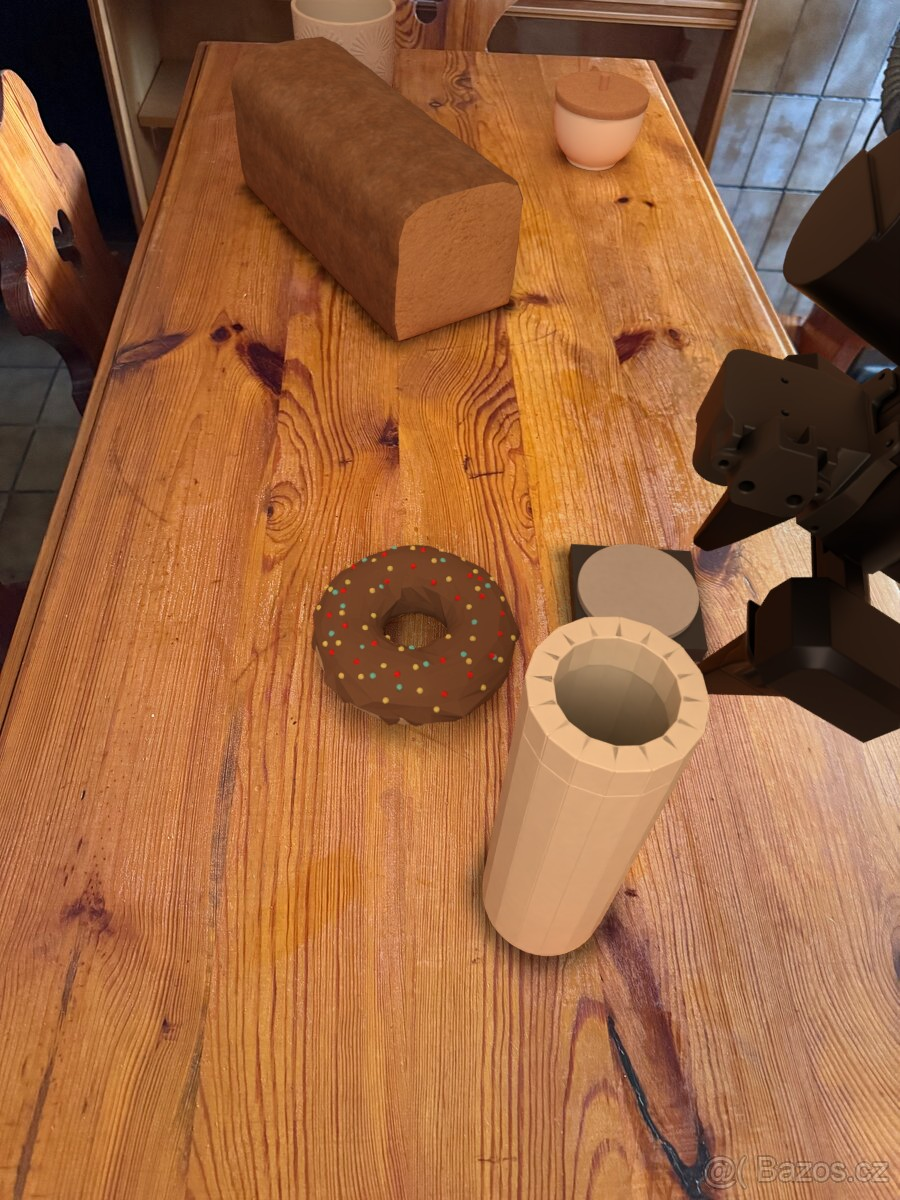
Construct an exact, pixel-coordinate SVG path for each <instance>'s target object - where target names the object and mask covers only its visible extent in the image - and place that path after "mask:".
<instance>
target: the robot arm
mask: <svg viewBox="0 0 900 1200" xmlns="http://www.w3.org/2000/svg"><path fill="white" fill-rule="evenodd" d="M782 275H783V278H784V279H785V282H786V283H787V284H789V285H790V286H791V287H793V288H794V289H796V291H798V292H799V293H801V294H802V295H803V296H804V297H806V298H807V299H808V300H810V301H811V302H813V304H815V305H816V306H818V307H819V308H821V309H822V310H823V311H825V312H826V313H827V314H828V315H829V316H831V317H832V318H834V319H835V320H836V321H838V322H839V323H840V324H842V325H843V326H845V328H847V329H848V330H850V331H851V332H852V333H854V334H855V335H856V336H857V337H859V338H860V339H861V340H863V341H864V342H866V343H867V344H868V345H869V346H871V348H874V349H875V350H876V351H877V352H879V353H880V354H881V355H883V356H884V357H886V358H887V359H888V360H890V361H891V362H892V363H893V364H895V366H896V367H894V368H893V369H892V368H890V367H885V368H883V369H881V370H880V371H879V372H877V373H876V374H875V375H873V376H872V377H871V378H870V379H867V380H866V381H865V382H862V383H859V381H857V380H855V379H854V378H853V377H852V376H850V375H848V374H847V373H846V372H844V371H843V370H842V369H840V368H839V367H838V366H836V365H835V364H833V362H831V361H830V360H828V359H827V358H826V357H824V356H823V355H821V354H820V353H818V352H809V353H807V352H806V353H796V354H787V355H786V356H785V357H784V358H779V357H775V356H771V355H768V354H765V353H762V352H758V351H754V350H751V349H747V348H736V349H731V350H730V351H729V352H727V354H726V356H725V358H724V359H723V361H722V364H721V366H720V367H719V369H718V371H717V373H716V375H715V377H714V379H713V380H712V382H711V384H710V386H709V388H708V390H707V392H706V394H705V396H704V399H703V400H702V402H701V404H700V406H699V408H698V410H697V411H696V414H695V424H696V428H695V439H694V448H693V452H692V456H691V464H692V467H693V469H694V471H695V473H696V474H697V475H698V476H700V478H702V479H703V480H705V481H706V482H708V483H710V484H713V485H715V486H719V487H724V488H725V487H726V489H725V491H724V492H723V494H722V495H721V496H720V497H719V499H718V501H717V502H716V503H715V504H714V506H713V508H712V509H711V511H710V512H709V514H708V515H707V516H706V518H705V519H704V521H703V522H702V524H701V525H700V527H699V528H698V529H697V531H696V532H695V534H694V535H693V537H692V544H693V545H694V546H695V547H697V548H699V549H700V550H702V551H704V552H712V551H715V550H718V549H721V548H724V547H727V546H731V545H733V544H736V543H738V542H741V541H743V540H745V539H748V538H751V537H752V536H755V535H757V534H760V533H762V532H764V531H766V530H769V529H771V528H774V527H776V526H778V525H781V524H783V523H785V522H787V521H791V520H792V519H795V524H796V525H797V526H799V527H800V528H802V529H803V530H805V531H806V532H808V533H809V534H810V560H811V576H790V577H789V578H787V579H786V580H784V581H782V582H781V583H779V584H778V585H776V586H774V587H773V588H770V590H769V591H768V592H767V594H766V596H765V597H764V599H763V601H762V602H761V604H759V603H757V602H755V600H753V599H748V600H747V603H746V621H745V623H746V625H745V631H744V632H742V633H741V634H739V635H737V636H736V637H735V638H733V639H732V640H730V641H729V642H728V643H726V644H725V645H723V646H721V647H720V648H719V649H717V650H715V652H713V653H712V654H710V655H708V656H707V657H705V658H704V659H703V661H701V662H698V663H696V665H697V667H698V668H699V669H700V671H701V673H702V674H703V678H704V682H705V685H706V689H707V693H708V695H713V696H715V695H716V696H746V697H747V696H749V697H751V696H753V697H775V698H786V699H787V700H789V701H791V702H792V703H794V704H796V705H797V706H799V707H800V708H803V709H804V710H806V711H807V712H809V713H811V714H813V715H814V716H816V717H817V718H820V719H821V720H823V721H825V722H826V723H828V724H830V725H832V726H833V727H835V728H836V729H838V730H840V731H842V732H844V733H845V734H847V735H848V736H850V737H852V738H854V739H855V740H857V741H859V742H861V743H862V744H865V743H867V742H870V741H872V740H875V739H877V738H880V737H882V736H885V735H887V734H890V733H892V732H895V731H898V730H900V622H898V621H897V620H896V619H894V618H892V617H891V616H890V615H888V614H886V613H885V612H883V611H881V610H880V609H878V608H877V607H876V606H874V605H872V597H871V587H870V576H869V575H875V574H876V573H878V572H880V573H882V574H884V575H885V576H886V577H888V578H889V579H891V580H893V581H894V582H896V583H897V584H899V585H900V129H898V130H896V131H894V132H893V133H891V134H890V135H888V136H887V137H885V138H883V139H882V140H880V142H879V143H877V144H875V145H874V146H873V147H872V148H870V149H869V150H868V151H867V150H866V149H864V148H863V149H861V150H859V152H857V153H856V154H855V155H854V156H853V157H852V158H851V159H850V160H848V162H847V163H846V164H845V165H844V166H843V167H842V168H841V169H840V170H839V171H838V173H836V174H835V176H834V177H833V178H832V179H831V180H830V181H829V183H828V184H827V185H826V186H825V187H824V189H823V190H822V191H821V192H820V194H819V195H818V196H817V198H816V199H814V201H813V203H811V206H810V208H809V209H807V212H806V213H805V215H804V216H803V218H801V221H800V223H799V225H798V226H797V228H796V230H795V232H794V234H793V235H792V237H791V239H790V242H789V244H788V247H787V249H786V252H785V256H784V260H783V264H782Z"/></svg>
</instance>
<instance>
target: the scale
mask: <svg viewBox="0 0 900 1200" xmlns="http://www.w3.org/2000/svg"><path fill="white" fill-rule="evenodd" d="M567 564H568V566H567V567H568V568H567V569H568V583H569V585H568V586H569V597H570V598H569V599H570V600H569V601H570V613H571V614H570V616H571V622H573V621H576V620H579V619H582V618H584V617H586V618H587V617H624V618H627V619H631V620H634V621H637V622H640V623H644V624H647V625H650V626H653V627H655V628H656V629H658V630H659V631H661V632H662V633H663V634H665V635H666V636H668V637H669V638H671V639H672V640H674V641H675V642H677V643H678V644H680V645H681V647H683V648H684V650H685V651H686V652H687V654H688V655H689V656H690V658H691V659H692V660H693V662H694V663H700V662H701V661H703V660H704V659H705V658H706V654H707V652H708V650H709V648H708V641H707V635H706V629H705V624H704V619H703V612H702V607H701V601H700V593H699V589H698V585H697V578H696V572H695V566H694V561H693V555H692V551H691V550H681V549H680V550H679V549H665V548H664V549H663V548H656V547H653V546H649V545H644V544H639V543H638V544H636V543H620V544H615V545H599V544H598V545H596V544H580V543H571V544H570V546H569V551H568V556H567Z"/></svg>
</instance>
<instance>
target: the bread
mask: <svg viewBox="0 0 900 1200" xmlns="http://www.w3.org/2000/svg"><path fill="white" fill-rule="evenodd" d="M230 84H231V85H230V89H231V95H232V100H233V106H234V115H235V127H236V128H235V129H236V131H235V132H236V138H237V145H238V153H239V158H240V166H241V172H242V176H243V179H244V182H245V185H246V186H247V187H248V188H249V189H250V190H251V192H252V193H253V194H254V195H255V196H256V197H257V198H258V199H259V200H260V201H261V202H262V203H263V204H264V205H265V207H266V208H268V210H269V211H270V212H271V213H273V215H275V217H276V218H277V219H278V220H279V221H280V222H281V223H282V224H283V225H284V227H286V228H287V230H288V231H289V232H290V233H291V234H292V235H293V236H294V237H295V238H296V240H297V241H299V243H300V244H301V245H302V246H303V248H305V249H306V250H307V251H308V252H309V253H310V254H312V256H313V257H314V258H315V259H316V260H317V261H318V262H319V264H320V265H321V266H322V268H324V269H325V270H326V271H327V272H328V273H329V275H330V276H332V278H334V280H335V281H336V282H337V283H338V284H339V285H340V286H341V287H342V288H343V289H344V290H345V291H346V292H347V293H348V294H349V295H350V296H351V297H352V298H353V299H354V300H355V301H356V302H357V303H358V304H359V305H360V306H361V308H363V309H364V311H365V312H366V313H367V314H368V315H369V316H370V318H372V319H373V321H375V323H376V324H378V326H379V327H381V329H382V330H383V331H384V332H385V333H386V334H388V335H389V336H390V337H391V338H392V339H393V340H394V341H395V342H401V341H403V340H408V339H411V338H414V337H417V336H420V335H423V334H425V333H428V332H431V331H434V330H437V329H440V328H442V327H446V326H449V325H452V324H454V323H457V322H461V321H464V320H467V319H469V318H472V317H475V316H478V315H482V314H484V313H487V312H490V311H492V310H495V309H498V308H500V307H504V306H506V305H508V304H509V303H510V298H511V294H512V291H513V288H514V287H513V286H514V281H515V272H516V265H517V257H518V250H519V243H520V241H519V240H520V230H521V228H520V227H521V219H522V211H523V204H524V196H523V194H522V191H521V187H520V184H519V181H517V180H516V179H515V178H514V177H513V176H511V175H510V174H508V173H507V172H505V171H504V170H503V169H501V168H500V167H498V166H497V165H495V164H494V163H493V162H492V161H490V160H489V159H487V158H486V157H485V156H484V155H483V154H481V153H480V152H479V151H478V150H476V149H474V148H473V147H472V146H470V145H469V144H468V143H466V142H464V140H462V139H460V138H459V137H458V136H457V135H456V134H455V133H453V132H452V131H451V130H450V129H448V128H446V127H445V126H444V125H442V124H441V123H439V122H437V121H436V120H434V119H433V118H432V117H431V116H430V115H429V114H428V113H427V112H426V111H424V110H423V109H422V108H421V107H420V106H418V105H417V104H415V103H414V102H412V101H411V100H410V99H409V98H407V97H405V96H404V95H403V94H401V92H399V91H398V90H396V89H395V88H394V87H393V86H392V87H391V86H390V85H389V84H388V83H386V82H385V81H384V80H383V79H382V78H380V77H379V76H378V75H377V74H376V73H375V72H373V71H372V70H371V69H369V68H368V67H367V66H365V65H364V64H363V63H361V62H360V61H359V60H358V59H356V58H355V57H354V56H353V55H352V54H350V53H349V52H348V51H347V50H346V49H344V48H343V47H342V46H340V45H339V44H337V43H335V42H333V41H331V40H328V39H326V38H324V37H314V38H305V39H298V40H295V39H291V40H285V41H281V42H277V43H272V44H268V45H263V46H261V47H256V48H254V49H250V50H247V51H244V52H243V54H242V55H241V56H240V57H239V58H238V60H237V62H236V63H235V64H234V66H232V75H231V83H230Z"/></svg>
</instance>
